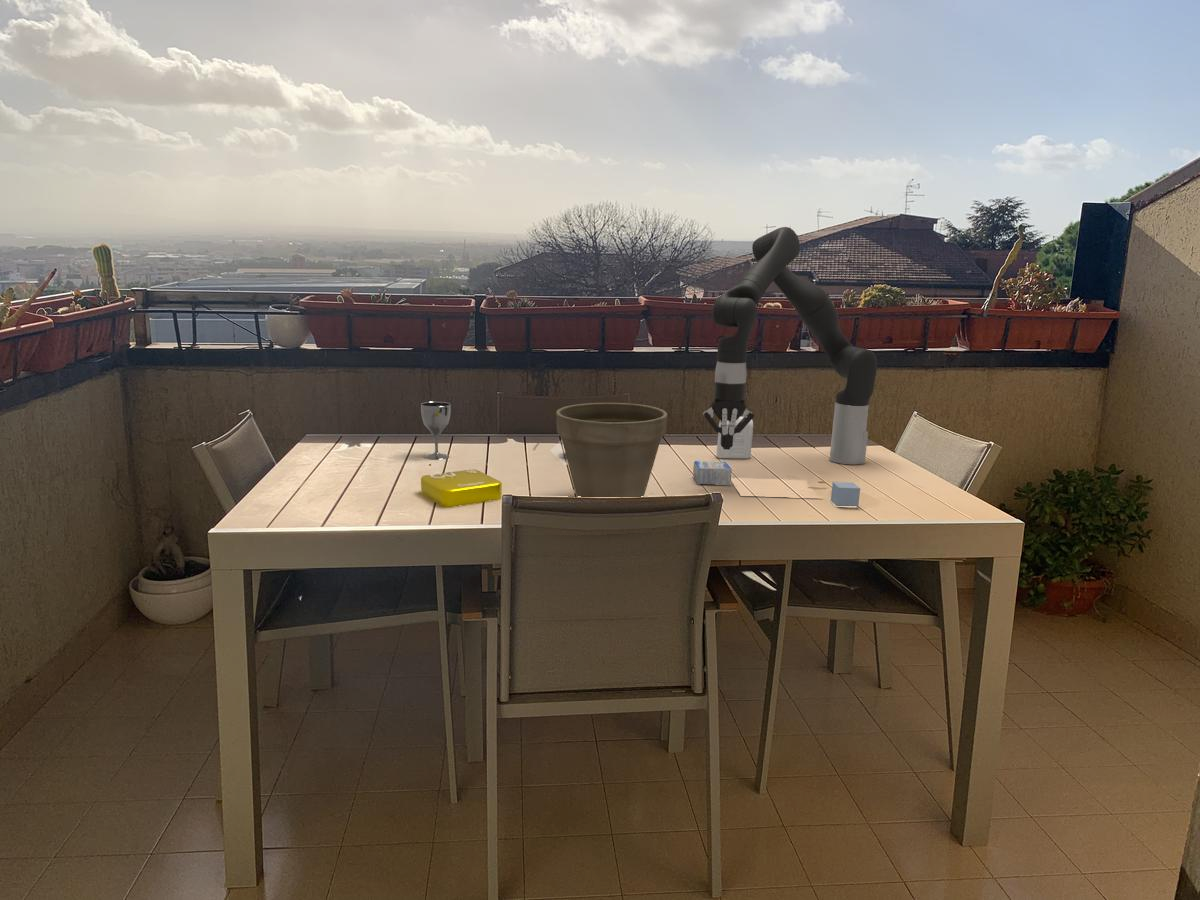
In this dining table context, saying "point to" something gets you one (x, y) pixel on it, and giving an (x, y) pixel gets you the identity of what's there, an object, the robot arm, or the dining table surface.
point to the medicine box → (712, 472)
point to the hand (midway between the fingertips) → (726, 448)
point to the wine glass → (436, 423)
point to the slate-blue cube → (845, 494)
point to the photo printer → (737, 443)
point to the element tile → (460, 487)
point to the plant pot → (610, 446)
